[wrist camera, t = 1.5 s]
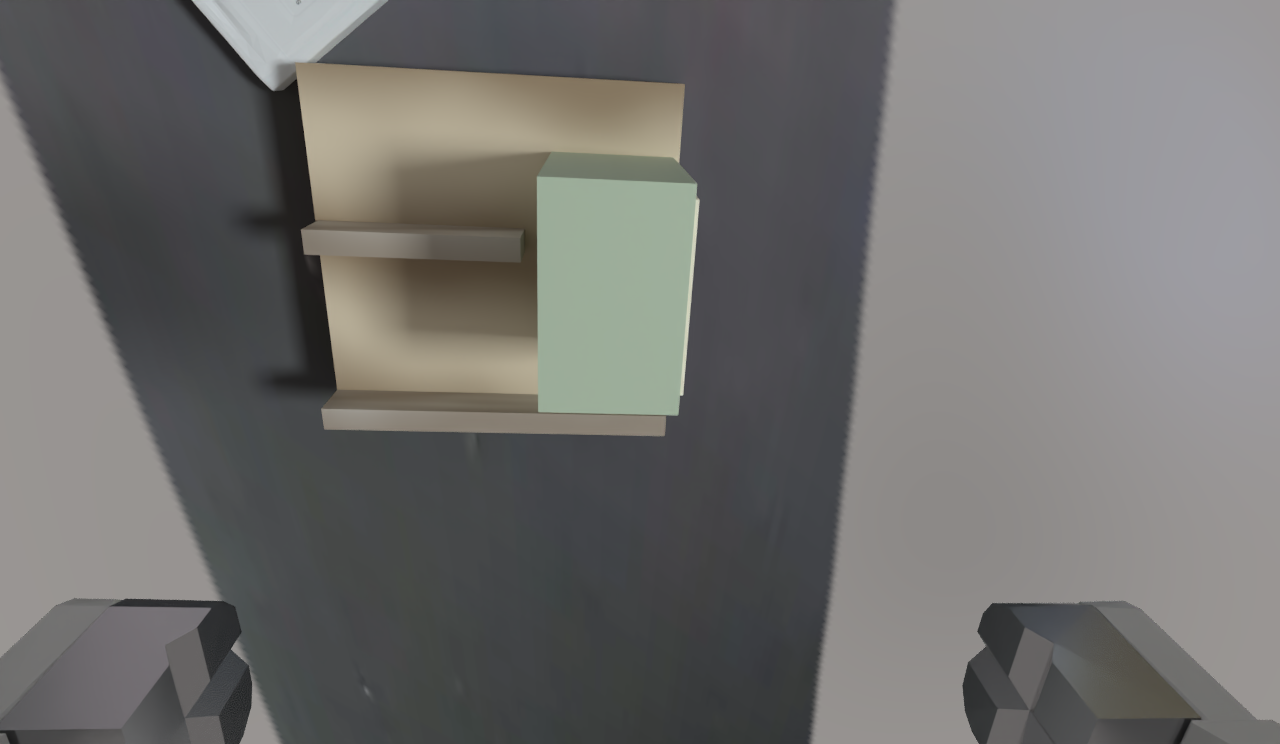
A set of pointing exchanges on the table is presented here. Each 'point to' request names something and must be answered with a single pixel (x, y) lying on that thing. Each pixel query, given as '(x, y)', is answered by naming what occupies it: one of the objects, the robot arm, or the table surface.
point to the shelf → (452, 235)
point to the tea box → (614, 282)
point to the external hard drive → (284, 31)
